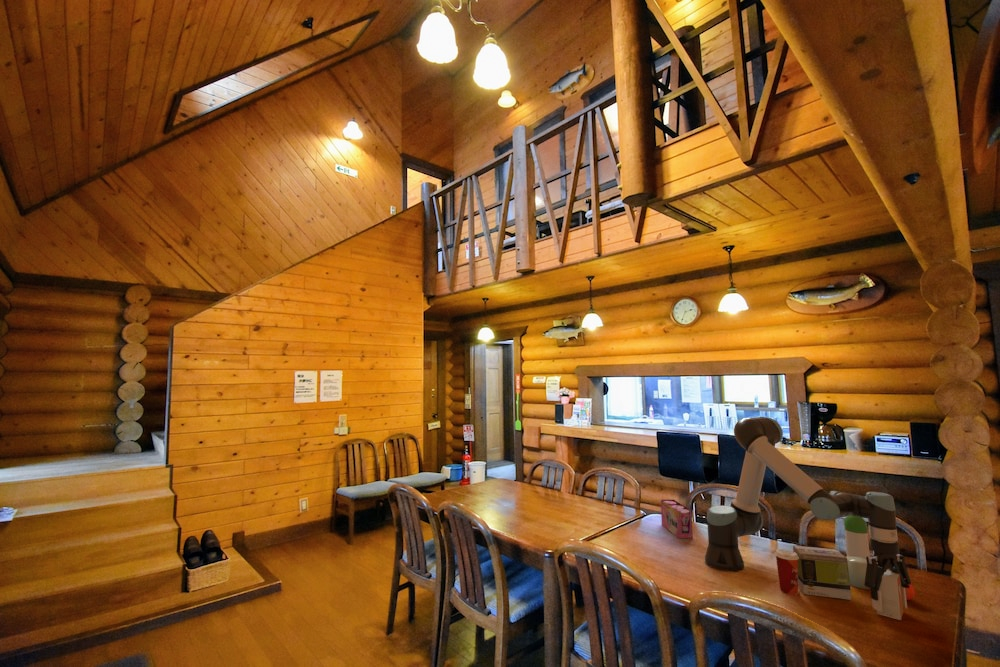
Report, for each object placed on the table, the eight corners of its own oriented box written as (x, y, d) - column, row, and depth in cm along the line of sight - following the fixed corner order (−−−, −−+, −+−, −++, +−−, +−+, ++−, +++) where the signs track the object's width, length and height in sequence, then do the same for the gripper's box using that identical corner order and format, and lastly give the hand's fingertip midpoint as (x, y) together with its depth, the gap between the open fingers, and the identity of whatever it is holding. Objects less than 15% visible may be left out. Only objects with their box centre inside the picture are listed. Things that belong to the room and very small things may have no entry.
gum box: (694, 539, 224) (693, 511, 226) (679, 539, 224) (678, 511, 226) (675, 524, 248) (674, 499, 250) (661, 524, 248) (660, 499, 250)
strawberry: (907, 605, 157) (905, 584, 158) (884, 597, 163) (882, 576, 164) (920, 601, 160) (918, 580, 161) (896, 593, 166) (894, 573, 167)
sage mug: (861, 590, 169) (859, 565, 170) (841, 581, 177) (839, 557, 178) (883, 587, 171) (881, 562, 172) (862, 578, 179) (860, 555, 180)
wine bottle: (846, 563, 194) (840, 492, 197) (869, 567, 190) (862, 494, 193) (849, 570, 187) (843, 496, 191) (873, 574, 183) (866, 498, 187)
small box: (901, 621, 147) (897, 579, 148) (876, 614, 151) (873, 573, 153) (904, 612, 152) (900, 572, 154) (879, 606, 157) (876, 566, 158)
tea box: (841, 589, 170) (837, 548, 171) (852, 601, 160) (848, 558, 162) (795, 583, 174) (792, 544, 176) (803, 594, 165) (800, 552, 167)
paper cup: (801, 598, 162) (799, 557, 164) (777, 593, 166) (774, 553, 168) (801, 590, 169) (798, 551, 170) (777, 585, 173) (774, 547, 174)
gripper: (869, 545, 148) (875, 617, 146) (920, 540, 153) (927, 609, 151) (847, 538, 156) (852, 606, 153) (897, 533, 160) (903, 599, 158)
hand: (890, 608), depth 152 cm, fingers closed on small box, 10 cm apart
